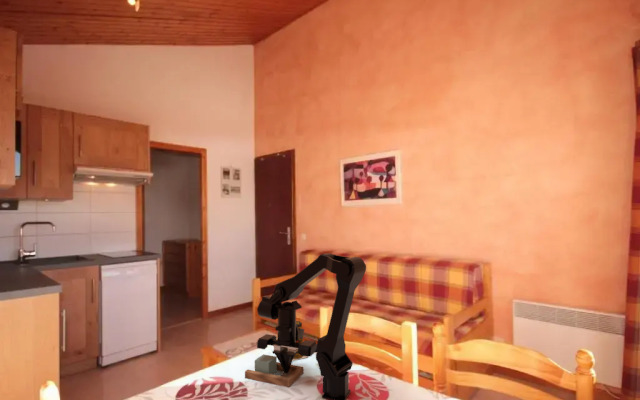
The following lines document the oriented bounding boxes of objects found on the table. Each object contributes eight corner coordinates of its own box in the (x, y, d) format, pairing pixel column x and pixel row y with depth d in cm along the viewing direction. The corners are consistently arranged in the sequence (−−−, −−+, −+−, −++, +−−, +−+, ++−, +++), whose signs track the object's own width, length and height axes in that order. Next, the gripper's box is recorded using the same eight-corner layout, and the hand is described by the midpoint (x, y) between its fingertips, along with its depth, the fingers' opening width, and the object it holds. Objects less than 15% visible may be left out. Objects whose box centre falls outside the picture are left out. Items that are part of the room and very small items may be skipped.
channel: (303, 373, 112) (303, 366, 113) (289, 387, 103) (289, 380, 103) (262, 365, 118) (262, 359, 119) (244, 378, 109) (244, 371, 109)
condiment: (289, 361, 122) (289, 326, 122) (280, 353, 129) (280, 320, 130) (308, 357, 125) (308, 323, 126) (298, 349, 133) (298, 317, 133)
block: (276, 372, 113) (276, 356, 114) (268, 379, 109) (268, 362, 109) (263, 369, 115) (263, 354, 116) (254, 376, 111) (254, 360, 111)
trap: (296, 374, 112) (296, 373, 112) (286, 383, 106) (286, 382, 106) (284, 372, 113) (284, 371, 113) (274, 381, 107) (274, 379, 107)
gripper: (323, 318, 114) (324, 367, 113) (273, 312, 121) (273, 358, 120) (309, 328, 104) (309, 382, 103) (256, 321, 111) (255, 371, 110)
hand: (286, 372), depth 109 cm, fingers closed
